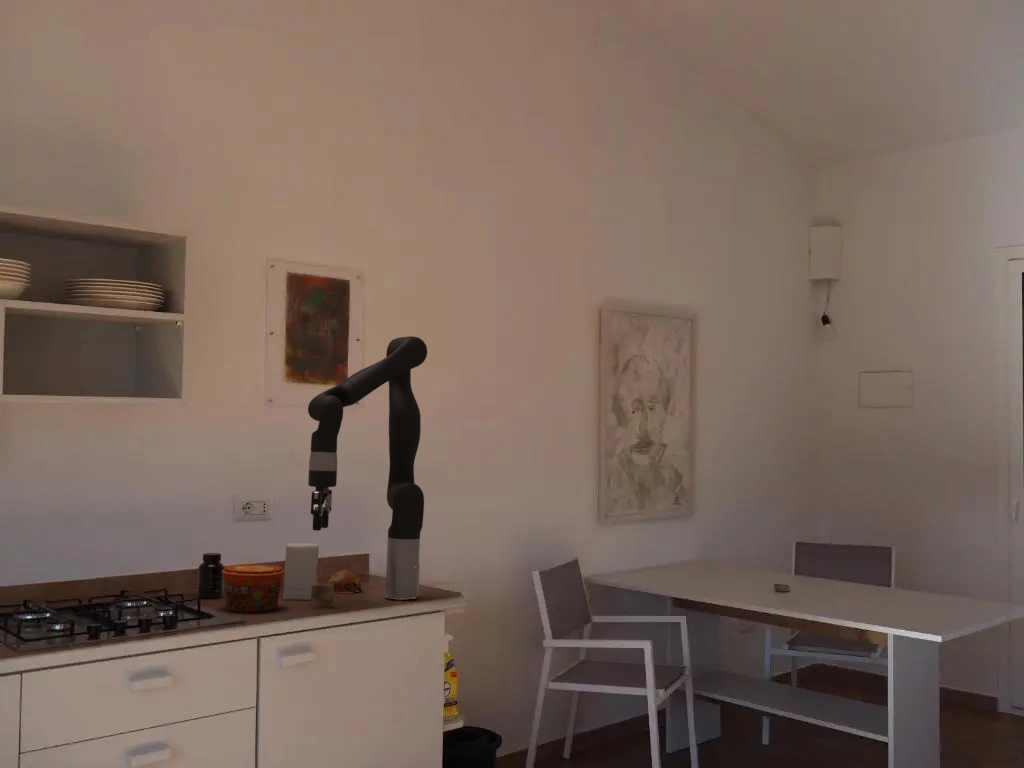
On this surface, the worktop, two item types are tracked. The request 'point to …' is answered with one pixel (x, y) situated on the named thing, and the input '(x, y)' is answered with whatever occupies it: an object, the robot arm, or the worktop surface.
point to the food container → (252, 587)
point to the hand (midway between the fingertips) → (320, 529)
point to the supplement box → (300, 570)
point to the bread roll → (345, 582)
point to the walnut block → (322, 595)
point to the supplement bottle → (210, 577)
